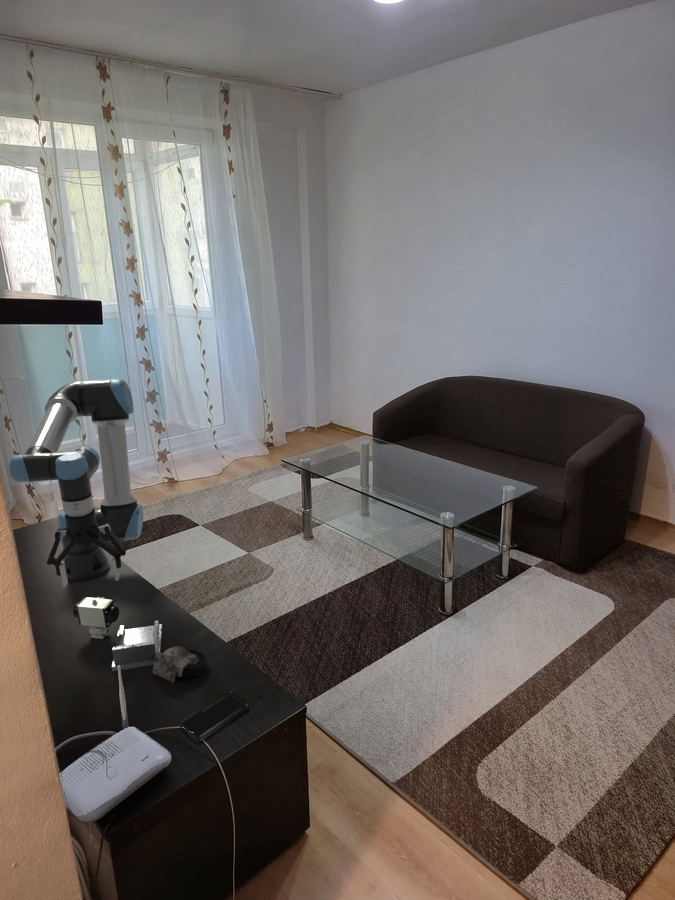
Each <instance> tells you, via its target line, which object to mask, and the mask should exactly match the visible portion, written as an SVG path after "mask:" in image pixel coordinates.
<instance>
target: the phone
mask: <svg viewBox="0 0 675 900" xmlns="http://www.w3.org/2000/svg"><path fill="white" fill-rule="evenodd" d="M248 710H249V703H248V702H247V701H245V700H244V699H243V698H242V697H240V696H239V695H238V694H237V693H235V692H234V691H230V690H229V691H226V692H225V693H223V694H222V695H220V696H218V697H217V698H216V699H213V701H211V702H209V703H207V704H206V705H205V706H203V707H201V708H200V709H198V710H196V711H195V712H193V713H191V714H190V715H189V716H187V717H185V718H184V719H182V720H181V721H180V722H179V724H180V725H179V727H180V726H181V727H184V728H185V729H184V730H185V732H184V733H186V732H187V733H186V734H187V735H188V736H189V738H191V739H192V741H194V742H196V743H199V742H202V741H201V739H203V740H205V739H206V738H208V737H209V736H211V735H212V734H213V733H216V732H217V731H218V730H220V729H221V728H222V727H224V726H226V725H228V723H230V722H231V721H233V720H235V719H236V718H238V717H239V716H240V715H242V714H244V713H245V712H246V711H248ZM181 727H180V728H181ZM189 731H191V732H194V733H191V732H189Z"/></svg>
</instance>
